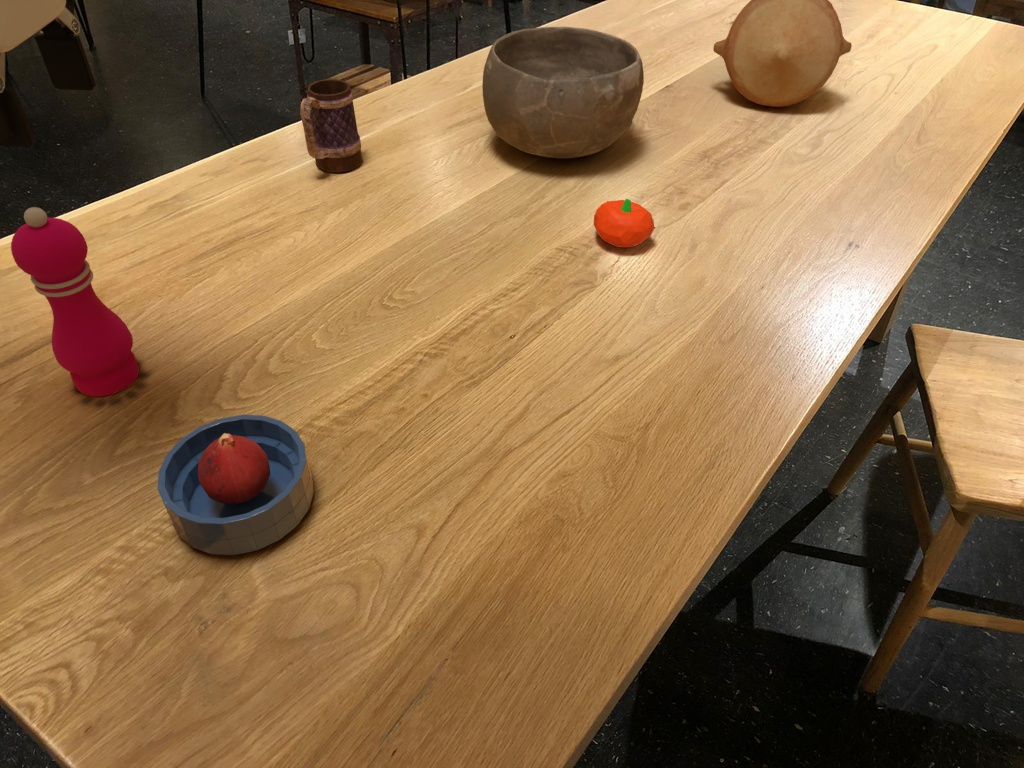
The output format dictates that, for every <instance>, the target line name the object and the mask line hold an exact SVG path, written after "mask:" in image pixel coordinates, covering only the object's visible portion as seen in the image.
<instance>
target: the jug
mask: <svg viewBox="0 0 1024 768" xmlns="http://www.w3.org/2000/svg"><path fill="white" fill-rule="evenodd" d="M844 37H845V36H844V35H843V27H842V23H841V21H840V19H839V15H838V12H837V11H836V9H835V8H834V6H833V4H832V2H831V1H829V0H749V2H748V3H746V4H745V5H744V7H742V9H741V10H740V12H739V13H738V14H737V15H736V17H735V19H734V21H733V22H732V24H731V26H730V28H729V30H728V34H727V36H726V37H725V38H724V39H722V40H719V41H715V43H714V44H713V49H712V50H713V52H714V53H715V54H717V55H718V56H720V57H721V58H722V60H723V61H724V65H725V68H726V71H727V74H728V76H729V79H730V80H731V82H732V84H733V86H734V87H735V89H736V91H738V93H740V94H741V95H742V96H743V97H744V98H745V99H746V100H748V101H750V102H752V103H755V104H757V105H761V106H765V107H766V106H767V107H774V108H775V107H776V108H781V107H787V106H793V105H796V104H799V103H800V102H802V101H804V100H807V99H808V98H809V97H812V96H813V95H814V94H815V93H817V92H818V91H819V90H820V89H821V88H822V87H824V85H826V83H827V82H828V81H829V79H830V78H831V76H832V75H833V73H834V71H835V69H836V67H837V65H838V63H839V60H840V58H841V57H842V56H844V55H845V54H848V53H850V52H851V50H852V47H853V46H852V42H850V41H848V40H846V38H844Z"/></svg>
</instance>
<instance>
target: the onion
mask: <svg viewBox="0 0 1024 768" xmlns="http://www.w3.org/2000/svg"><path fill="white" fill-rule="evenodd" d="M269 476H270V466H269V460H268V457H267V455H266V453H265V452H264V451H263V449H262V448H261V447H260V446H259V445H258V444H257V443H256V442H254V441H252V440H250V439H248V438H245V437H242V436H235V435H230V434H226V433H224V434H223V435H222V436H221V437H220V438H219V439H216V440H215V441H213V442H212V443H211V444H210V445H209V446H208V447H207V448H206V449H205V451H204V452H203V454H202V456H201V458H200V460H199V465H198V478H199V483H200V485H201V486H202V488H203V489H204V491H205V492H206V494H207V495H208V496H209V498H211V499H213V500H215V501H218V502H220V503H223V504H240V503H244V502H247V501H249V500H251V499H253V498H255V497H256V496H258V495H259V494H260V493H261V491H262V490H263V489H264V488H265V486H266V484H267V481H268V479H269Z"/></svg>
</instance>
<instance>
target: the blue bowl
mask: <svg viewBox="0 0 1024 768" xmlns="http://www.w3.org/2000/svg"><path fill="white" fill-rule="evenodd" d="M224 433H226V434H230V435H235V436H242V437H245V438H248V439H250V440H252V441H254V442H256V443H257V444H258V445H259V446H260V447H261V448H262V449H263V451H264V452H265V453H266V455H267V457H268V460H269V466H270V476H269V479H268V481H267V484H266V486H265V488H264V489H263V490H262V491H261V493H260V494H259V495H258V496H256V497H255V498H253V499H251V500H249V501H247V502H244V503H240V504H223V503H220V502H218V501H215V500H213V499H211V498H209V496H208V495H207V494H206V492H205V491H204V489H203V488H202V486H201V485H200V483H199V478H198V465H199V460H200V458H201V456H202V454H203V452H204V451H205V449H206V448H207V447H208V446H209V445H210V444H211V443H212V442H213V441H215V440H216V439H219V438H220V437H221V436H222V435H223V434H224ZM306 448H307V447H306V445H305V442H304V441H303V439H302V437H301V436H300V435H299V433H298V432H297V431H296V429H294V428H293V427H291V426H290V425H288V424H287V423H285V422H284V421H282V420H279V419H277V418H274V417H271V416H266V415H259V414H238V415H232V416H226V417H222V418H218V419H215V420H213V421H211V422H208V423H205V424H203V425H200V426H197V428H195V429H194V430H192V431H191V432H189V433H187V434H186V435H185V436H183V437H181V439H179V440H178V441H177V442H176V444H175V445H174V446H173V447H172V448H171V449H170V450H169V451H168V452H167V453H166V455H165V457H164V459H163V460H162V463H161V465H160V466H159V467H160V468H159V469H158V474H157V491H158V493H159V497H160V498H161V501H162V503H163V505H164V507H165V509H166V511H167V514H168V516H169V519H170V520H171V522H172V524H173V527H174V529H175V531H176V534H177V535H178V536H179V538H181V539H182V540H183V541H184V542H185V543H187V544H188V545H189V546H190V547H192V548H194V549H196V550H199V551H201V552H203V553H204V552H205V553H208V554H210V555H222V556H237V555H241V554H246V553H251V552H256V551H259V550H262V549H264V548H266V547H268V546H270V545H272V544H274V543H276V542H278V541H281V540H282V539H283V538H284V537H285V536H287V535H288V534H289V533H290V532H292V531H293V530H294V529H295V528H296V527H297V526H298V525H300V523H301V521H302V520H303V518H304V517H305V516H306V514H307V513H308V511H309V509H310V507H311V503H312V501H313V500H312V499H313V496H314V492H315V489H314V481H313V474H312V469H311V465H310V461H309V458H308V453H307V449H306Z"/></svg>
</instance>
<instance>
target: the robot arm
mask: <svg viewBox="0 0 1024 768" xmlns="http://www.w3.org/2000/svg"><path fill="white" fill-rule="evenodd" d="M75 2H76V0H0V147H19V148H20V147H21V148H22V147H23V148H29V147H32V146H33V145H34V144H35V143H36V137H35V134H34V132H33V129H32V128H31V125H30V123H29V120H28V117H27V115H26V113H25V110H24V108H23V106H22V104H21V101H20V98H19V97H18V94H17V92H16V90H15V88H14V86H13V87H12V86H6V52H9V51H11V50H14V49H15V48H16V47H18V46H19V45H21V44H22V43H23V42H25V41H27V40H28V39H29V38H31V37H32V36H34V40H35V42H36V45H37V47H38V50H39V53H40V56H41V58H42V61H43V63H44V65H45V69H46V71H47V73H48V76H49V79H50V81H51V84H52V86H53V87H54V88H55V89H57V90H68V91H70V90H71V91H93V90H94V89H95V88H96V86H97V83H96V81H95V78H94V75H93V72H92V71H93V70H92V69H91V66H90V62H89V60H88V57H87V53H86V52H85V49H84V45H83V42H82V40H81V37H80V35H79V34H80V33H81V32H80V31H81V25H80V22H79V20H78V18H77V17H76V16H75ZM38 32H39V33H38ZM36 33H38V34H36ZM35 34H36V35H35Z"/></svg>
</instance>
